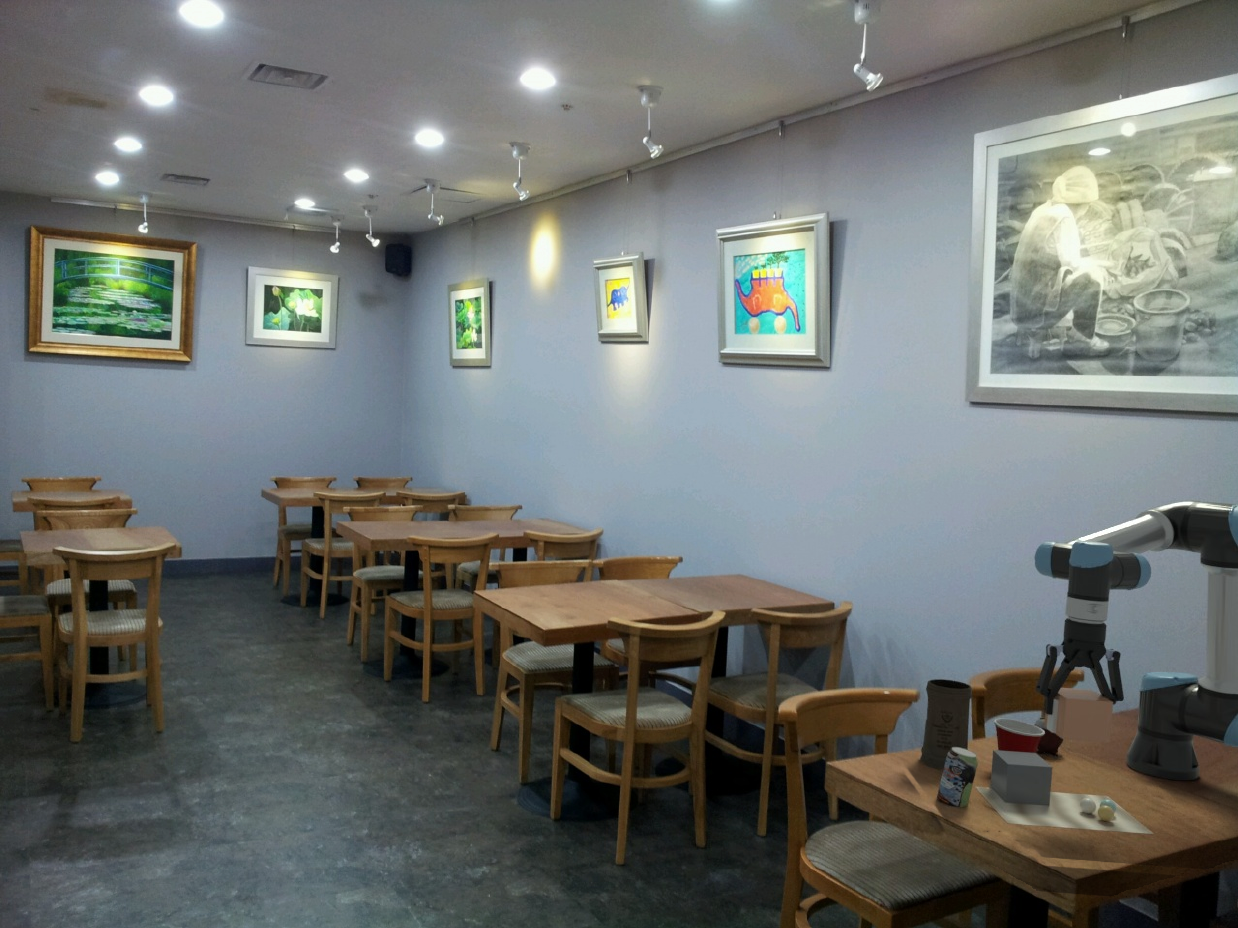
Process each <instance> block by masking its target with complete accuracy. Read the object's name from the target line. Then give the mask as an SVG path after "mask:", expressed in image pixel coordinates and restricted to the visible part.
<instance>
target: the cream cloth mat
mask: <svg viewBox="0 0 1238 928" xmlns="http://www.w3.org/2000/svg"><path fill="white" fill-rule="evenodd" d="M974 788H975V789H976V790H977V791H978V792H979V794H980V795H981V796H982V797H983V798H984V799H985V800H986V802H988V804H990V805H991V807H992V808H993V809H994V810H995V812H996V813H998V815H999V816H1001V818H1002V820H1003V821H1004V822H1006V824H1008V825H1020V826H1021V825H1024V826H1032V827H1033V826H1035V827H1047V828H1050V827H1052V828H1062V829H1065V828H1066V829H1078V830H1088V831H1089V830H1090V831H1091V830H1093V831H1103V832H1104V831H1107V832H1118V833H1133V834H1146V835H1155V833H1154V832H1153V831H1151V830H1150V828H1148V827H1146V826H1145V825H1144V824H1142V823H1141V822H1140V821H1139V820H1138V819H1136V818H1135V817H1134V816H1133V815H1132V814H1130V813H1129V812H1128V811H1126V810H1125V809H1124V808H1123V807H1122V806H1120V805H1119V804H1118V803H1117V802H1116V801H1114V800H1113V799H1112V798H1110V797H1109V796H1108V795H1100V794H1099V795H1097V794H1096V795H1095V794H1085V793H1081V794H1080V793H1068V792H1059V791H1058V792H1057V791H1056V792H1055V791H1051V793H1050V806H1046V805H1032V804H1018V803H1005V802H1004V801H1003V800H1002V799H1001V798H1000V797H999V795H998V794H997V793H996V792H995V791H994V790H993V789H992V788H991V787H986V786H985V787H984V786H974ZM1084 798H1090V799H1092V800H1093V801H1094V802H1095V804H1096V810H1095V811H1094V812H1093V813H1091V814H1087V813H1085V812H1083V811H1082V810H1081V808H1080V802H1081V800H1082V799H1084ZM1106 799H1108V800H1111V801H1113V802H1114V803H1115V805H1116V811H1115V813H1114V818H1113V819H1112V820H1111V821H1103V820H1102V819H1100V818H1099V816H1098V809H1099V807H1100V803H1101V802H1102V801H1103V800H1106Z"/></svg>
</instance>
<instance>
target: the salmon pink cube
mask: <svg viewBox="0 0 1238 928" xmlns="http://www.w3.org/2000/svg"><path fill="white" fill-rule="evenodd" d="M1055 698H1056V699H1058V700H1059V704H1058V716H1057V727H1056V733H1055V734H1056V735H1058V736H1059V737H1061V738H1062V739H1064V740H1067V741H1068V740H1069V741H1083V742H1095V743H1107V744H1108V743H1109V744H1111V730H1112V723H1113V722H1112V719H1113V709H1114V705H1113V701H1111V700H1109V699H1107V698H1105V697H1104V696H1102V695H1101V693H1099V692H1097V691H1095V690H1093V689H1083V688H1070V687H1061V689H1060V690H1059V692H1058V693H1057V695H1056V697H1055ZM1044 717H1045V722H1044V726H1045V727H1047V719H1048V714H1046V713H1045V712H1044Z"/></svg>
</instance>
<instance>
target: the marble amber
mask: <svg viewBox="0 0 1238 928" xmlns="http://www.w3.org/2000/svg"><path fill="white" fill-rule="evenodd" d="M1098 816H1099V818H1100V819H1102V820H1103V821H1111V820H1112V819H1113V818H1114V811H1113V809H1112V808H1111V807H1109V806H1106V805H1104V806H1101V807H1099V809H1098Z"/></svg>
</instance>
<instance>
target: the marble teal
mask: <svg viewBox="0 0 1238 928" xmlns="http://www.w3.org/2000/svg"><path fill="white" fill-rule="evenodd" d="M1113 801H1114V800H1113ZM1113 801H1111V800H1108V799H1106V800H1103V801H1102V802H1101V803H1100V807H1101V806H1104V805H1106V806H1109V807H1111V808H1112V809H1113V811H1114V813H1115V811H1116V805H1115V803H1116V802H1115V801H1114V802H1115V803H1114V802H1113Z"/></svg>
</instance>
